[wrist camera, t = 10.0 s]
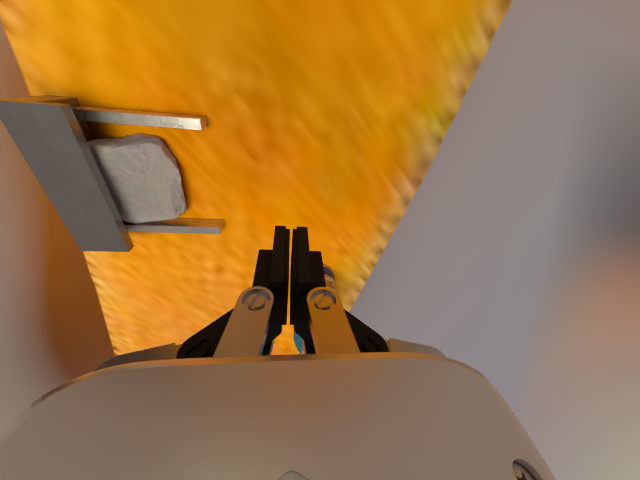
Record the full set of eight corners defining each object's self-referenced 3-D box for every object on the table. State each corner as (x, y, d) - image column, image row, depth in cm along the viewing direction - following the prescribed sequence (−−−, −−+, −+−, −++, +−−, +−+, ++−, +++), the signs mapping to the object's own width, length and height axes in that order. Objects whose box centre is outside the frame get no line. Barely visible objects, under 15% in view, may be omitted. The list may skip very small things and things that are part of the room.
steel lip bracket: (47, 95, 27) (-12, 99, 22) (204, 109, 29) (185, 115, 24) (111, 226, 37) (81, 251, 32) (225, 229, 39) (214, 253, 34)
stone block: (168, 127, 32) (84, 137, 30) (160, 135, 28) (63, 147, 26) (201, 204, 39) (135, 216, 37) (197, 218, 35) (124, 232, 33)
